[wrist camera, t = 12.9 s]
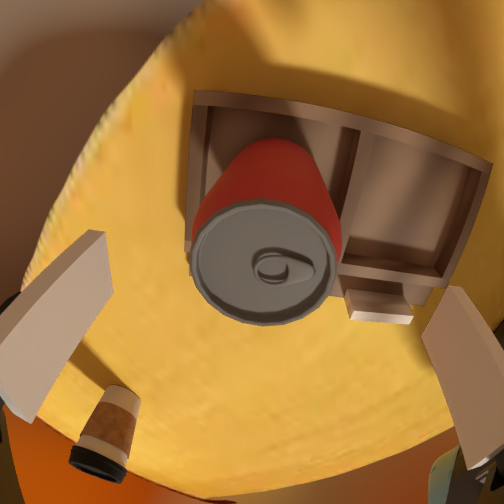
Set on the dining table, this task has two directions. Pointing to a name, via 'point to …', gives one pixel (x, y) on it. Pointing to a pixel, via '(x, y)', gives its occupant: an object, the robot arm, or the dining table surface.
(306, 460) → the dining table surface
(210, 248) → the beer can
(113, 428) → the coffee cup
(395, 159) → the brown desk organizer
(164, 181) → the dining table surface
